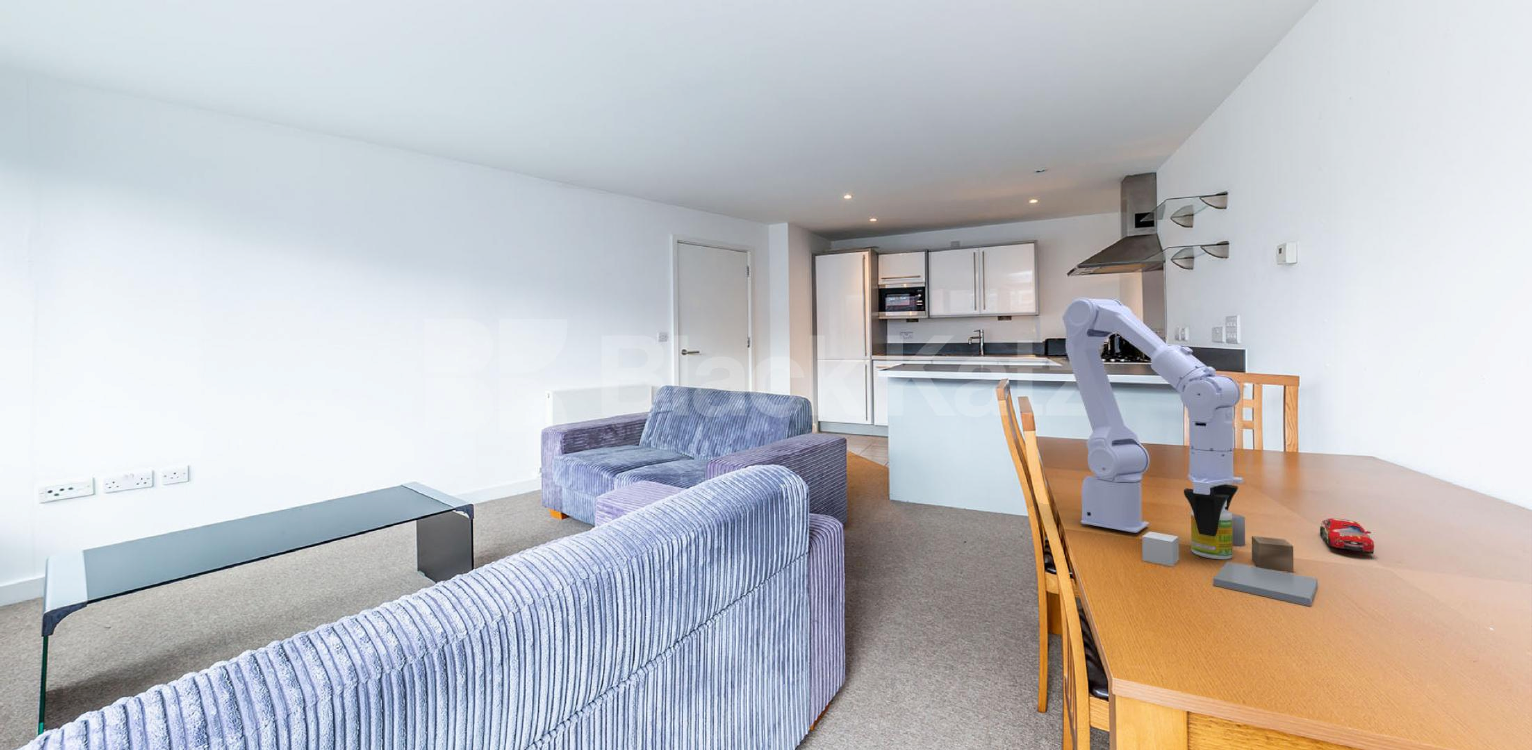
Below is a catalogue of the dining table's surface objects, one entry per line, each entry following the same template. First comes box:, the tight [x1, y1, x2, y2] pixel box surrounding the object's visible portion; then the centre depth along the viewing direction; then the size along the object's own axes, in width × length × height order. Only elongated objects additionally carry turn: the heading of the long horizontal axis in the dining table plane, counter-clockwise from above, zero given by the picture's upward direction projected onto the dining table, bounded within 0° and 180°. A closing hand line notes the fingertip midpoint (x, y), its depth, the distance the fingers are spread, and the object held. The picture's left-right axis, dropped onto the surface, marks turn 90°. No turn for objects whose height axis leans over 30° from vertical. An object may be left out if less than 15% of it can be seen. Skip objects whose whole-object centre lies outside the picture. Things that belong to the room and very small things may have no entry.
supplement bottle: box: [1190, 500, 1234, 560], centre depth 94 cm, size 5×5×10 cm
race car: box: [1319, 518, 1375, 555], centre depth 96 cm, size 13×5×4 cm, turn 141°
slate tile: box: [1212, 561, 1319, 607], centre depth 81 cm, size 10×10×1 cm
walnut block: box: [1251, 535, 1294, 573], centre depth 88 cm, size 4×4×4 cm
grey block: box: [1141, 531, 1180, 567], centre depth 92 cm, size 4×4×4 cm
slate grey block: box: [1231, 513, 1246, 547], centre depth 99 cm, size 4×4×5 cm
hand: (1211, 531), depth 94 cm, fingers closed on supplement bottle, 5 cm apart
